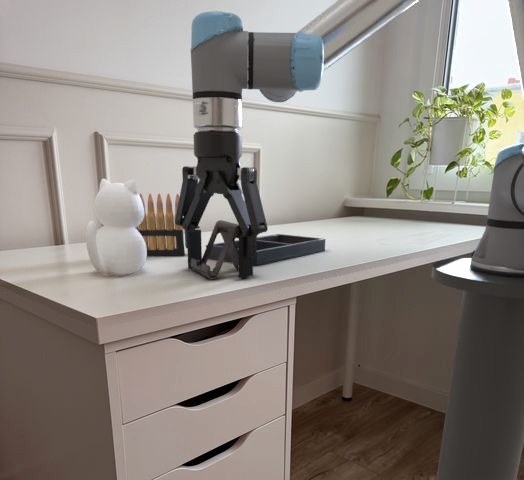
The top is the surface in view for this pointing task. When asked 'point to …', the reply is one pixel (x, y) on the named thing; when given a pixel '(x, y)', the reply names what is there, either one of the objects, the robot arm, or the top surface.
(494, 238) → the robot arm
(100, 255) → the cat figurine
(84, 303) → the top surface
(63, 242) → the top surface
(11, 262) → the top surface
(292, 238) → the divided tray
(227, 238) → the tablet stand
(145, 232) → the ammunition clip
